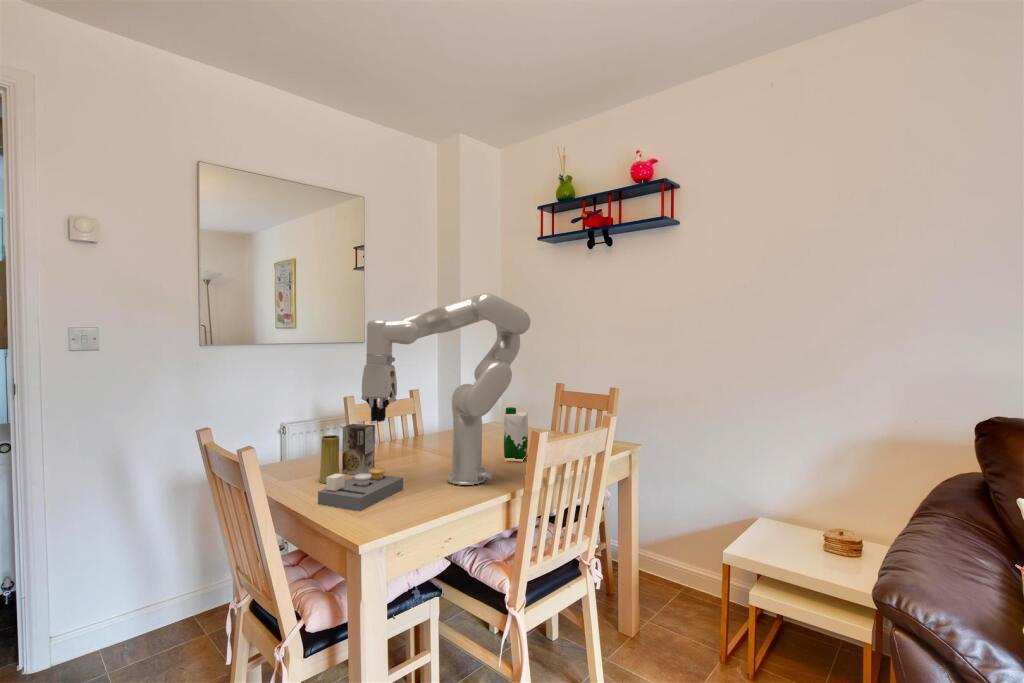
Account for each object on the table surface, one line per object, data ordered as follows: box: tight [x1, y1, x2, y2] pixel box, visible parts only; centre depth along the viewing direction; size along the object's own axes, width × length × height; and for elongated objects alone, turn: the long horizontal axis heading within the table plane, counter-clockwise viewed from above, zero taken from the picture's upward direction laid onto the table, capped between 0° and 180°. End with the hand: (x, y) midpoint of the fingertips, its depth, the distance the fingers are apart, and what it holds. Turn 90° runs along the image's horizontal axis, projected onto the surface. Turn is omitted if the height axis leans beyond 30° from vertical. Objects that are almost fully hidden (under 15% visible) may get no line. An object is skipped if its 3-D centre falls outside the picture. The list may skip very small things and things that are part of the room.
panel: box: [317, 473, 404, 512], centre depth 145 cm, size 14×21×4 cm, turn 160°
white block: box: [325, 473, 346, 491], centre depth 140 cm, size 3×4×6 cm
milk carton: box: [503, 406, 529, 459], centre depth 192 cm, size 9×9×20 cm
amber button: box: [369, 467, 386, 481], centre depth 151 cm, size 5×5×3 cm
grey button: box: [353, 473, 372, 487], centre depth 145 cm, size 5×5×3 cm
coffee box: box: [341, 423, 376, 476], centre depth 170 cm, size 9×6×16 cm
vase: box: [319, 434, 340, 484], centre depth 159 cm, size 6×6×14 cm
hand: (378, 420), depth 151 cm, fingers closed
